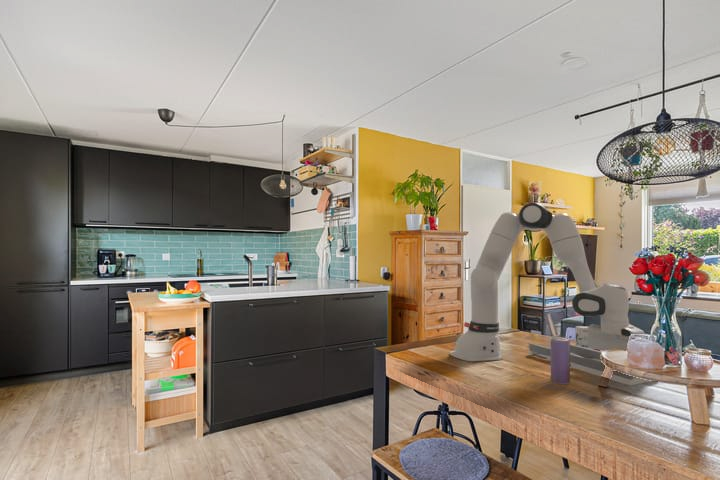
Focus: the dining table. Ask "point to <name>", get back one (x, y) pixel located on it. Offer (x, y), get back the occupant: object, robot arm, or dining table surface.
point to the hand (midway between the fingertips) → (615, 365)
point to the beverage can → (560, 360)
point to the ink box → (582, 337)
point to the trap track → (585, 362)
